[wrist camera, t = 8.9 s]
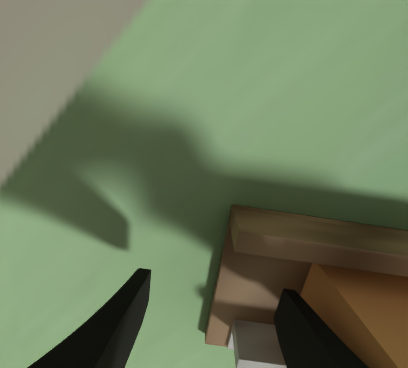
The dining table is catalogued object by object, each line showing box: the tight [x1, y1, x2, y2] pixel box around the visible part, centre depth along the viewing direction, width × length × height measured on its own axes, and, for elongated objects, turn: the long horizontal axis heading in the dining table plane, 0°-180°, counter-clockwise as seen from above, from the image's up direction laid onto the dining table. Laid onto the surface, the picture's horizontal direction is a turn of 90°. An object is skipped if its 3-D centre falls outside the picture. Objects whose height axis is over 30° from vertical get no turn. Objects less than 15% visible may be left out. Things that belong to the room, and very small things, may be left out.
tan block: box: [300, 263, 408, 368], centre depth 9 cm, size 6×4×6 cm, turn 82°
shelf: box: [205, 205, 408, 368], centre depth 11 cm, size 12×10×3 cm
